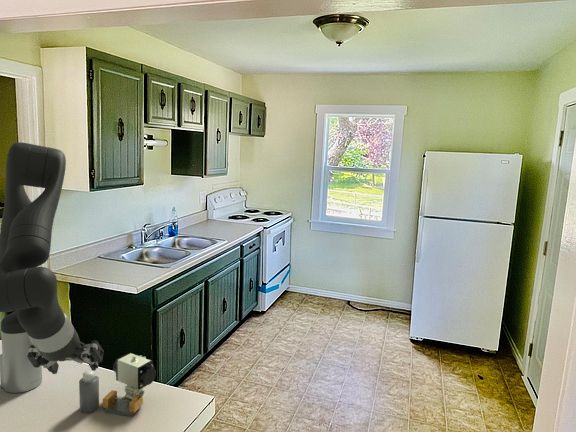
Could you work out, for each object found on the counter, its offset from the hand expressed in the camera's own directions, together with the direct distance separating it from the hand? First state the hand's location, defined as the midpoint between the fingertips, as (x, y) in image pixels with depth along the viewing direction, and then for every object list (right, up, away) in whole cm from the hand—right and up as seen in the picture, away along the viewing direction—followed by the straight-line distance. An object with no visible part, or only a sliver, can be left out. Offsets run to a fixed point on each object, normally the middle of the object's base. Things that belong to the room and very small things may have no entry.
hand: (75, 368), depth 96 cm
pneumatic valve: (+7, -15, +19) cm, 25 cm away
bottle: (-3, -15, +12) cm, 20 cm away
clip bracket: (+6, -15, +13) cm, 21 cm away
